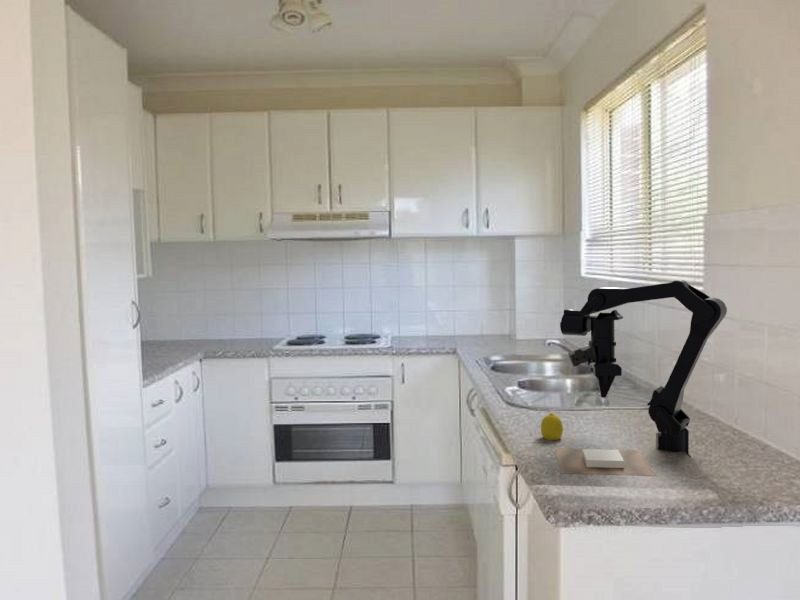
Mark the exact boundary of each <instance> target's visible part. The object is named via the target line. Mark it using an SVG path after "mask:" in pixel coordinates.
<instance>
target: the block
mask: <svg viewBox="0 0 800 600" xmlns="http://www.w3.org/2000/svg"><path fill="white" fill-rule="evenodd" d="M581 449H582V456H583V459H584V461H585V464H586V467H604V468H624V460H623V458H622V456H621V454H620V452H619V451H618V450H619V449H612V450H602V449H603V448H602V449H600V448H598V449H597V448H581Z"/></svg>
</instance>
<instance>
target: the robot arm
mask: <svg viewBox="0 0 800 600" xmlns="http://www.w3.org/2000/svg"><path fill="white" fill-rule="evenodd" d="M670 298H675V299H676V300H677V301H678V302H679V303H680V304H681V305H683V307H685V308H686V309H687V310H689V311H690V313H692V315H691V319H690V328H689V333H688V336H687V338H686V340H685V342H684V345H683V346H682V350H681V352H680V354H679V355H678V358H677V360H676V363H675V364H674V366H673V367H672V368H673V369H672V371H671V373H670V375H669V377H668V380H667V381H666V384H665V386H662V385H661V386H659V387H657V388H656V389H654V390H653V391H652V397H651V399H650V401H649V402H648V403H646V406H649V407H648V415H649V418H650V419H651V420H652V421H653V422H654V423H655V426H656V429H657V433H655V447H656V450H658V451H665V452H671V453H682V452H685V454H686V455H688V457H689V458H692V456H691V454H690V453H689V452H690V451H689V450H690V448H689V446H690V445H689V441H690V440H689V439H690V437H689V433H690V432H689V429H687V427H689V424H690V422H691V418H690V417H689V416H688V414H687V413H686V412H685V411H683V409H682V405H683V400H684V393H685V388H686V386H687V384H688V382H689V380H690V378H691V376H692V374H693V371H694V369H695V367H696V366H697V363H698V361H699V359H700V357H701V354H702V351H703V350H704V348H705V345H706V343H707V342H708V339H709V338H710V337H711V336H712V334H713V333H714V332H715V330H716V329H717V328H718V327H719V325H720V324H721V323H722V321H723V320H724V318H725V317H726V316H727V312H728V309H727V306H726V304H725V302H724V301H723V300H721V299H720V298H717V297H710V296H709V295H707V294H706V293H704V292H703V291H701V290H699V289H698V288H695V286H692V285H691V284H689V283H688V282H687V281H685V280H683V279H678V280H673V281H670V282H663V283H662V282H661V283H655V284H650V285H649V284H648V285H643V286H636V287H611V286H603V287H598V288H594V289H592V290H591V291H590V292H589V293H588V295H587V301H586V302H585V303H584V305H583V306H582V308H581V309H571V308H565V309H564V310H563V315H562V317H561V321H560V323H559V327H560V331H561V334H562V335H563V336H578V337H579V336H580V337H581V336H582V337H585V336H586V335H588V333H590V340H589V341H588V345H586V346H584V347H580V348H578V349H574V350H571V351H570V352H567V356H568V357H569V360H570V362H571V365H572V366H573V367H574V368H575V367H579V366H580V365H582V364H584V363H586V365H587V366H590V364H592V367H590V368H589V370H590V372H591V373H592V374H593V376H595V377H596V382H597V386H598V390H599V394H600V397H601V399H603V398H604V399H605V398H607V395H608V393H609V391H610V389H611V387H612V384H613V382H614V381H615V378H616V377H621V376H623V375H622V369H623V368H622V366H620V365H619V364H618V363H617V357H616V351H615V349H616V346H617V342H616V341H615V321H619V320H623V318H624V317H623V315H622V314H621V313H619V312H618V310H617V309H614V308H617V307H620V306H624V305H626V304H631V303H640V302H646V301H653V300H654V301H655V300H662V299H670ZM610 309H613V310H611V312H604V311H606V310H610ZM602 311H603V312H602ZM596 313H598V314H597V315H592V314H596Z"/></svg>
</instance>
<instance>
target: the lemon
mask: <svg viewBox="0 0 800 600" xmlns="http://www.w3.org/2000/svg"><path fill="white" fill-rule="evenodd" d="M563 426H564V425H563V422H562V420H561V418H560V417H559V416H557V415H556V414H554V413H553V412H550V413H549V414H547V415H545V416H544V417H543V418H542V420H541V423H540V432H541V435H542V437H543V439H545V440H548V441H558V440H560V439H561V438H562V436H563V432H564V428H563Z"/></svg>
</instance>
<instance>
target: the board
mask: <svg viewBox="0 0 800 600" xmlns="http://www.w3.org/2000/svg"><path fill="white" fill-rule="evenodd" d="M582 449H583V448H555V447H554V452H555V456H556V463H557V465H558V466H557V467H558V470H559V473H560V474H562V475H563V474H567V475H597V476H599V475H603V476H634V477H636V476H637V477H638V476H639V477H642V476H643V477H658V475H657V473H656V472H655V470H654V469H653V468H652V465H651V464H650V462H648V460H647V458H646V456H645V455H644V453H643V452H642V450H640V449H617V450H618V451H619V452H620V454H621V456H622V458H623V460H624V468H604V467H586V464H585V461H584V459H583V456H582ZM602 450H613V449H607V448H602Z"/></svg>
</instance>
